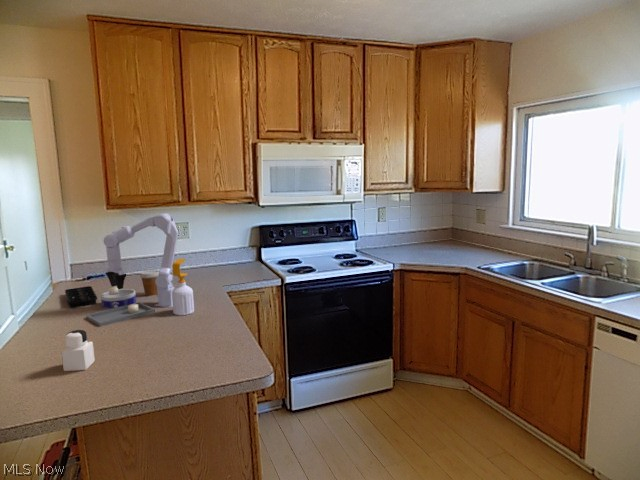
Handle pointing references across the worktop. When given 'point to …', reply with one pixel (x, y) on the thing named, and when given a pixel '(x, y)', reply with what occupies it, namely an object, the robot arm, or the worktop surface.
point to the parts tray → (118, 314)
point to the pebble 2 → (133, 308)
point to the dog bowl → (118, 298)
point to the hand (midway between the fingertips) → (117, 287)
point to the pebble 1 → (113, 290)
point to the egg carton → (80, 296)
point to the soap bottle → (181, 293)
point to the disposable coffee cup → (149, 282)
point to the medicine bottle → (77, 351)
